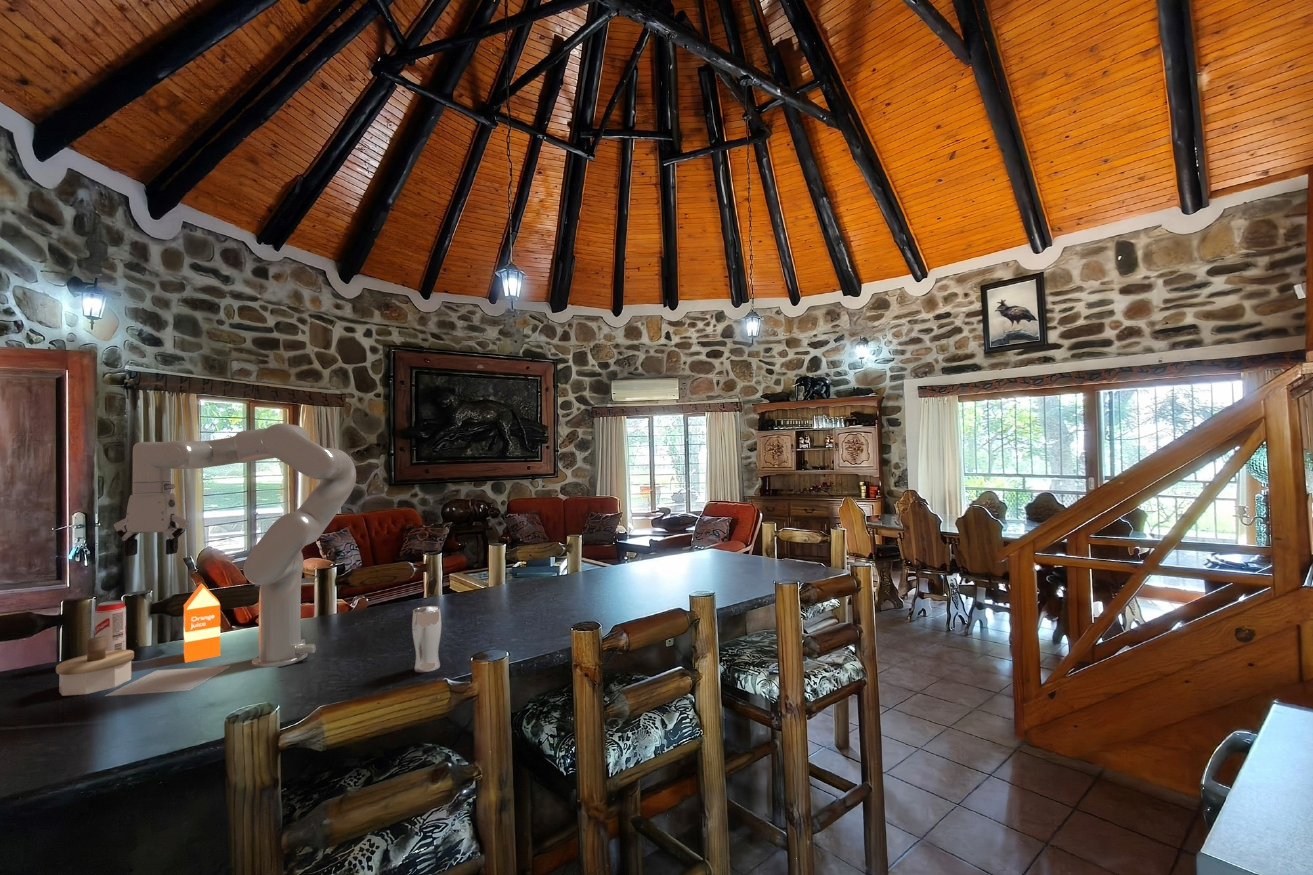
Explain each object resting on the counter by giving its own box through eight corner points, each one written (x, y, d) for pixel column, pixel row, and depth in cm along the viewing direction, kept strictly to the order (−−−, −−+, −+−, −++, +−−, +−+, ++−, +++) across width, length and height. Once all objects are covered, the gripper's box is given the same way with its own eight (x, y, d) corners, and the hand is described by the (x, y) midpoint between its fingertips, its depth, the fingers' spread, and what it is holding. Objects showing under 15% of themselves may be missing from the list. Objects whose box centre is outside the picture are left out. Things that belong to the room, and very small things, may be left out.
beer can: (106, 665, 155) (106, 605, 155) (88, 664, 156) (88, 605, 157) (131, 657, 161) (132, 600, 162) (114, 656, 162) (114, 599, 163)
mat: (231, 668, 151) (231, 665, 151) (188, 693, 135) (188, 690, 135) (156, 672, 149) (156, 670, 149) (104, 698, 133) (104, 695, 133)
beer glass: (447, 665, 149) (447, 607, 150) (426, 674, 143) (426, 613, 144) (427, 661, 152) (427, 604, 153) (406, 671, 146) (405, 611, 146)
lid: (148, 652, 148) (148, 628, 148) (103, 672, 134) (104, 645, 135) (89, 656, 146) (89, 631, 146) (38, 676, 133) (38, 649, 133)
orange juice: (184, 664, 154) (184, 589, 155) (183, 656, 161) (183, 584, 162) (221, 657, 160) (221, 584, 160) (218, 649, 166) (218, 580, 167)
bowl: (142, 676, 147) (142, 654, 147) (102, 695, 135) (102, 671, 135) (90, 679, 145) (90, 657, 146) (45, 698, 133) (45, 674, 134)
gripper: (197, 487, 156) (197, 550, 155) (127, 489, 154) (126, 553, 153) (177, 488, 148) (177, 555, 148) (103, 490, 147) (103, 558, 146)
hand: (151, 554), depth 151 cm, fingers open, 9 cm apart
